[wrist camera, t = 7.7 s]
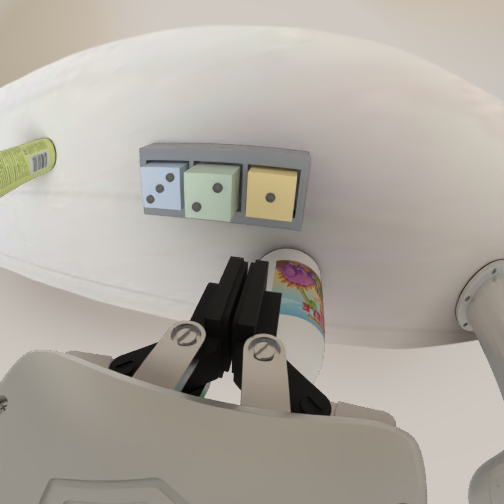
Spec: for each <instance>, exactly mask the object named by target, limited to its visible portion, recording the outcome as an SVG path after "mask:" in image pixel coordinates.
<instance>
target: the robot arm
mask: <svg viewBox="0 0 504 504" xmlns="http://www.w3.org/2000/svg"><path fill="white" fill-rule="evenodd" d="M268 268H269V261H263V260H256V263H253V262H251V265H250V268H249V271H248V262H245V261H244V258H240V257H233V256H231V257H230V259H229V262H228V264H227V266H226V268H225V271H224V273H223V275H222V277H221V280H220V282H219V284H217V283H208V285H207V287H206V289H205V291H204V293H203V295H202V297H201V299H200V301H199V303H198V305H197V307H196V309H195V311H194V314H193V316H192V318H191V320H190V321H181V322H177V323H175V324H174V325H172V326H171V327H170V328H169V329H168V330H167V332H166V333H165V334H164V336H163V337H162V338H161V340H160V341H159V342H157V343H155V344H152V345H149V346H146V347H144V348H141V349H138V350H136V351H133V352H130V353H127V354H124V355H121V356H119V357H117V358H115V359H112V357H111V356H105V355H98V354H91V353H85V352H78V351H69V352H66V353H63V352H58V351H52V350H35V351H30V352H28V353H26V354H25V355H23V356H22V357H21V358H20V359H19V360H18V361H17V362H16V363H15V364H14V365H13V366H12V368H11V369H10V370H9V371H8V373H7V374H6V375H5V377H4V378H3V379H2V381H1V382H0V504H427V486H426V475H425V468H424V463H423V457H422V454H421V450H420V448H419V445H418V443H417V442H416V440H415V439H414V438H413V437H412V435H410V434H409V433H407V432H406V431H404V430H402V429H400V428H398V427H396V422H395V420H394V418H393V417H392V416H391V415H390V414H389V413H386V412H384V411H379V410H374V409H370V408H365V407H360V406H356V405H352V404H348V403H344V402H340V401H339V402H338V403H334V402H330V401H329V400H328V399H327V397H326V396H325V395H324V394H323V393H322V392H320V391H319V390H318V389H317V388H316V387H315V386H314V385H313V384H312V383H311V382H310V381H309V380H308V379H306V378H305V377H304V376H303V375H302V374H301V373H300V372H299V371H298V370H297V369H296V368H295V367H294V366H293V365H292V364H291V363H290V362H289V361H288V360H287V359H286V351H285V346H284V344H283V343H282V341H281V340H280V339H278V338H277V337H276V336H277V329H278V321H279V313H280V306H281V298H282V293H279V292H271V291H266V287H267V277H268ZM247 272H248V274H247ZM456 318H457V321H458V323H459V325H460V326H461V328H462V329H464V330H466V331H474V332H475V334H476V336H477V338H478V340H479V342H480V344H481V347H482V349H483V351H484V353H485V355H486V357H487V359H488V362H489V364H490V367H491V369H492V371H493V374H494V376H495V379H496V381H497V383H498V386H499V389H500V392H501V394H502V397H503V400H504V260H498V261H495V262H492V263H491V264H489V265H487V266H485V267H484V268H483V269H481V270H480V271H479V272H478V273H477V274H476V275H475V276H474V277H473V278H472V279H471V280H470V281H469V283H468V284H467V286H466V287H465V288H464V290H463V292H462V294H461V296H460V298H459V301H458V303H457V308H456ZM231 361H232V373H234V382H235V384H236V385H237V386H238V387H239V389H240V390H241V405H235V404H230V403H225V402H220V401H215V400H211V399H206V398H204V396H205V394H206V393H207V391H208V389H209V386H210V382H211V381H213V380H215V379H217V378H218V377H219V378H222V376H223V373H224V371H226V372H228V371H229V368H230V365H231ZM468 500H469V504H504V450H503V451H502V452H500V453H499V454H497V455H496V456H494V457H493V458H491V459H489V460H488V461H486V462H485V463H484V464H483V465H481V466H480V467H479V468H478V469H477V471H476V472H475V473H474V475H473V477H472V479H471V481H470V485H469V492H468Z"/></svg>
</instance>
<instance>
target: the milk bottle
mask: <svg viewBox="0 0 504 504" xmlns="http://www.w3.org/2000/svg"><path fill="white" fill-rule="evenodd" d="M261 260H263V261H269V268H268V277H267V287H266V291H271V292H279V293H282V298H281V306H280V313H279V321H278V329H277V336H276V337H277V338H278V339H280V340H281V341H282V343H283V344H284V346H285V351H286V359H287V360H288V361H289V362H290V363H291V364H292V365H293V366H294V367H295V368H296V369H297V370H298V371H299V372H300V373H301V374H302V375H303V376H304V377H305V378H306V379H308V380H309V381H310V382H311V383H312V384H314V382H315V380H316V378H317V376H318V375H319V372H320V369H321V367H322V363H323V358H324V350H325V349H324V348H325V329H324V309H323V295H322V283H321V275H320V270H319V268H318V266H317V264H316V263H315V261H314V260H313V259H312V258H311V257H309V256H308V255H307V254H305V253H303V252H301V251H298V250H295V249H279V250H275V251H273V252H270V253H268V254H267V255H265V256H264V257H263V258H262V259H261Z"/></svg>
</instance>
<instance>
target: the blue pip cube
mask: <svg viewBox="0 0 504 504" xmlns="http://www.w3.org/2000/svg"><path fill="white" fill-rule="evenodd" d="M188 169H189V161H181V160H154V161H152V162H150V163H148V164H146V165H144V166H142V167H140V170H141V183H142V195H143V205H144V207H148V208H161V209H173V210H182V209H183V208H184V207H185V199H184V172H185V171H187V170H188Z"/></svg>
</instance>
